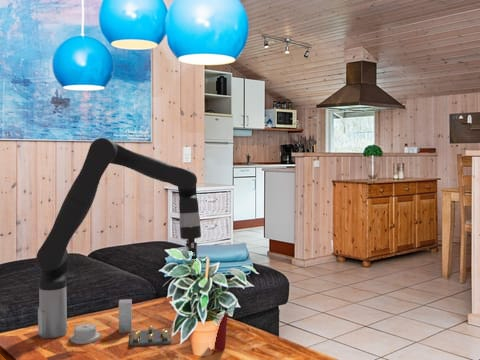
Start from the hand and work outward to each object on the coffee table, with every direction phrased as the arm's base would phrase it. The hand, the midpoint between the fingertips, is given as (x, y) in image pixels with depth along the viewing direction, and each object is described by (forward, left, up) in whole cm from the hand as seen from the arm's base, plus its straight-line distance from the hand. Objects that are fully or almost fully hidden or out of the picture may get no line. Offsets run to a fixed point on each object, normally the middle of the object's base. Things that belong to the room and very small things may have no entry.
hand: (192, 269), depth 184 cm
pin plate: (-16, +3, -23) cm, 28 cm away
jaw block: (-20, +16, -23) cm, 34 cm away
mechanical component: (-35, +16, -24) cm, 45 cm away
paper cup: (-1, -17, -24) cm, 29 cm away
